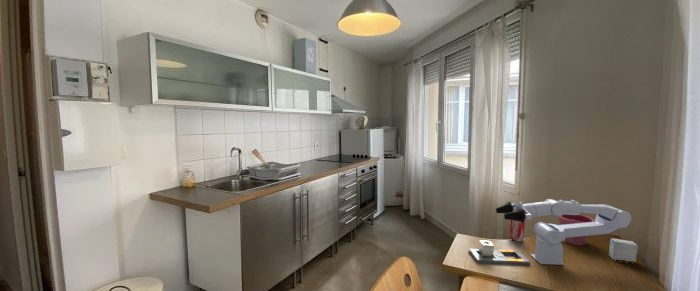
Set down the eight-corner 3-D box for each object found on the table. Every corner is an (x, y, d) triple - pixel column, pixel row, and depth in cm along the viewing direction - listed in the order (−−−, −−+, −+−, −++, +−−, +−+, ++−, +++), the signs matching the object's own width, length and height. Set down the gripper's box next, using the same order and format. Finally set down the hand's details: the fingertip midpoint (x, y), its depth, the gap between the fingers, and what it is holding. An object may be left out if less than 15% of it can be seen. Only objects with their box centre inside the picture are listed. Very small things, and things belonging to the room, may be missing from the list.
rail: (517, 253, 130) (517, 250, 130) (530, 265, 120) (530, 261, 120) (468, 251, 131) (469, 248, 131) (477, 262, 121) (477, 259, 121)
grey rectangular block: (488, 255, 128) (489, 240, 127) (492, 260, 124) (493, 245, 123) (478, 255, 128) (479, 240, 127) (482, 260, 124) (483, 244, 123)
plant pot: (550, 238, 147) (552, 214, 145) (564, 233, 153) (566, 210, 152) (583, 250, 134) (586, 224, 133) (597, 244, 141) (600, 219, 139)
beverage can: (525, 243, 141) (527, 220, 139) (511, 241, 142) (513, 219, 141) (520, 237, 147) (522, 215, 145) (507, 236, 148) (509, 214, 147)
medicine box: (630, 259, 126) (633, 241, 125) (635, 264, 122) (638, 245, 121) (608, 255, 129) (610, 237, 128) (612, 260, 125) (614, 241, 124)
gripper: (522, 196, 129) (492, 199, 130) (542, 206, 115) (507, 210, 116) (523, 210, 130) (493, 214, 131) (543, 222, 115) (509, 226, 116)
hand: (500, 213), depth 123 cm, fingers open, 7 cm apart
